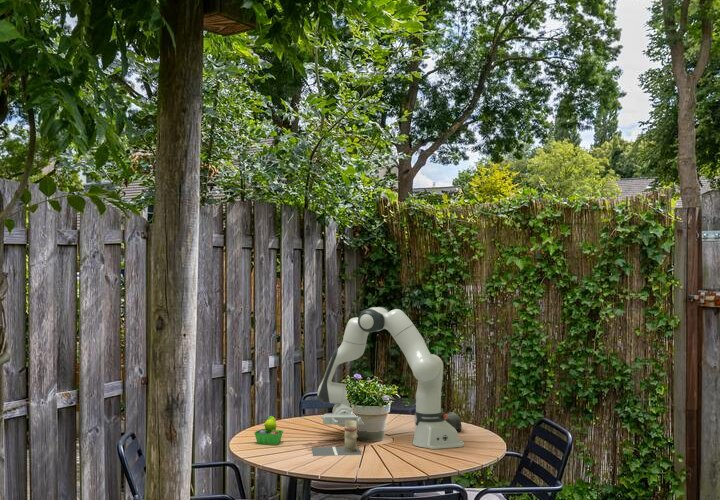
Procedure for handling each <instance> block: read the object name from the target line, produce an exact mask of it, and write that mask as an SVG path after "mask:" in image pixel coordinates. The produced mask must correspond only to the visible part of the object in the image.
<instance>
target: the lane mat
mask: <svg viewBox="0 0 720 500" xmlns="http://www.w3.org/2000/svg"><path fill="white" fill-rule="evenodd" d="M311 453H312V456H313V457H331V456H333V457H334V456H363V454H362V452H361V449H360V447H359V446H358V445H357V451H356V452H345V446H330V447H329V446H325V447H324V446H322V447H316V446H315V447H311Z"/></svg>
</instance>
